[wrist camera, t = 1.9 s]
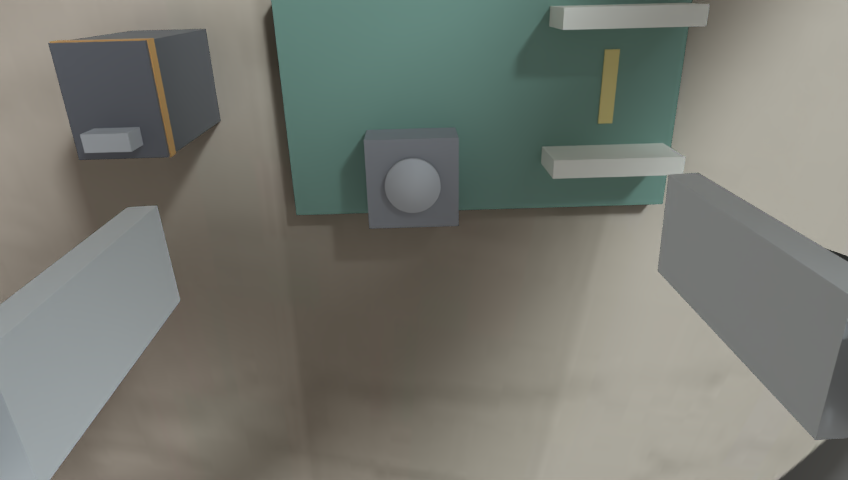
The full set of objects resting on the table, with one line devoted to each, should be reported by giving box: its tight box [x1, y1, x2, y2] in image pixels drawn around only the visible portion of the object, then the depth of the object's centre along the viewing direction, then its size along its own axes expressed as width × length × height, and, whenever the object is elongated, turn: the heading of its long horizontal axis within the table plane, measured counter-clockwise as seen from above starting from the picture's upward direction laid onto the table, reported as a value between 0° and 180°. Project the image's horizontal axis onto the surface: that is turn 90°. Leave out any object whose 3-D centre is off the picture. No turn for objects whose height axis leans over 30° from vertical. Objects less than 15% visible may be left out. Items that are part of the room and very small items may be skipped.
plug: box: [48, 29, 221, 160], centre depth 28 cm, size 5×4×9 cm
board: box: [271, 0, 710, 229], centre depth 32 cm, size 12×22×4 cm, turn 91°
